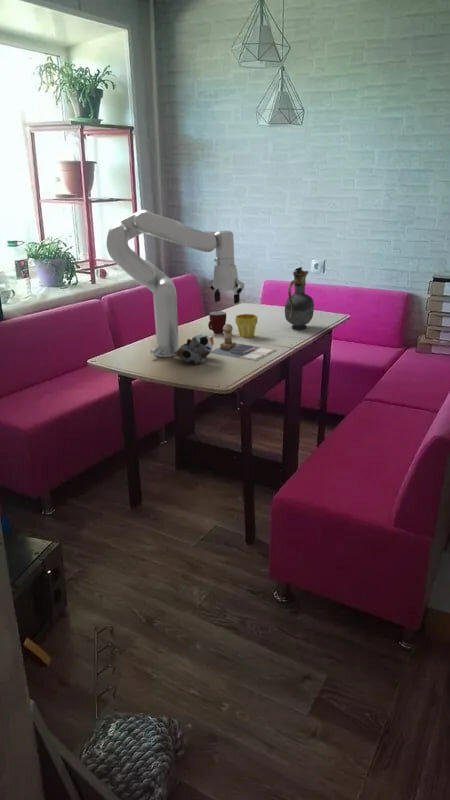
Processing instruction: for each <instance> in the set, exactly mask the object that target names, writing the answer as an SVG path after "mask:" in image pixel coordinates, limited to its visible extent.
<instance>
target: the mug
mask: <svg viewBox="0 0 450 800" xmlns="http://www.w3.org/2000/svg"><path fill="white" fill-rule="evenodd" d="M226 324H227V312H226V311H220V310H219V311H217V310H216V311H211V312H209V321H208V329H209V331H212V333H214V335H215V334H221V335H223V334H224V331H223V327H224V325H226Z"/></svg>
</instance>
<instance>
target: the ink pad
mask: <svg viewBox="0 0 450 800" xmlns="http://www.w3.org/2000/svg"><path fill="white" fill-rule="evenodd" d="M240 344H241V345H239V346H237V347H235V348H232V349H230V353H235V354H241V355H245V354H247V353H249V352H251V351H253V350H255V345H250V346H249V344H244V345H243V343H240Z"/></svg>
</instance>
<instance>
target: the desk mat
mask: <svg viewBox="0 0 450 800" xmlns="http://www.w3.org/2000/svg"><path fill="white" fill-rule="evenodd" d="M235 343H236V347H237V346H239V345H241V344H243V343H237V342H235ZM243 345H245V344H243ZM248 345H249V344H248ZM249 346H251V345H249ZM254 346H255V345H254ZM260 347H261V346H255V350H256V349H258V348H260ZM253 351H254V350H253ZM276 351H277V349H276V350H275V351H273V352H271V353H269V354H267V355H265V356H263V357H261V358H259V359H257V360H253V361H254V362H255V363H257V362H259V361H260V359H262V358H264V357H266V356H268V355H270V354H272V353H274V352H275V353H277V352H276ZM210 354H212V355H213V354H215V355H220V356H225V357H230V358H232V357H233V358H235V359H236V358H237V359H243V360H246V359H245V358H240V357H241V356H243V355H241V354H235V353H230V351H227V350H221V349H220V347H217V348H215V349H212V350H211V352H210ZM247 360H249V361H252V360H251V359H247Z"/></svg>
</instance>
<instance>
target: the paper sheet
mask: <svg viewBox="0 0 450 800" xmlns="http://www.w3.org/2000/svg"><path fill="white" fill-rule="evenodd" d="M259 347H260V348H258V349H256V350H254V351H251V352H249V353H247V354H245V355H243V356H241V357H240V358H239V359H242V358H245V359H244V360H248V359H251V360H250V361H254V360H256V361H258V360H260V359H262V358H264V357H266V356H268V355H270V354H272V353H274V352H275V350H276V351H277V349H276V348H275V349H274V348H270V347H263V346H259ZM273 351H274V352H273ZM271 352H272V353H271ZM269 353H270V354H269ZM267 354H268V355H267ZM265 355H266V356H265ZM263 356H264V357H263ZM261 357H262V358H261ZM259 358H260V359H259ZM257 359H258V360H257Z"/></svg>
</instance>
